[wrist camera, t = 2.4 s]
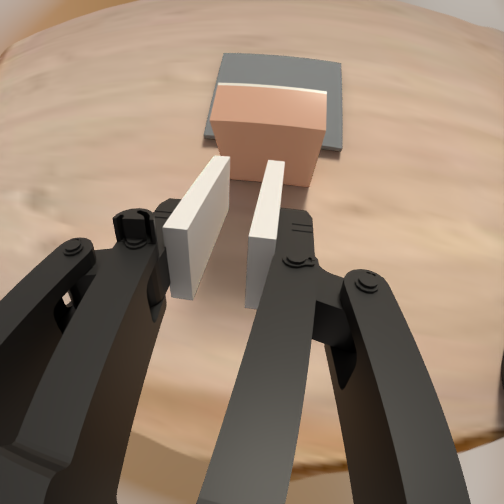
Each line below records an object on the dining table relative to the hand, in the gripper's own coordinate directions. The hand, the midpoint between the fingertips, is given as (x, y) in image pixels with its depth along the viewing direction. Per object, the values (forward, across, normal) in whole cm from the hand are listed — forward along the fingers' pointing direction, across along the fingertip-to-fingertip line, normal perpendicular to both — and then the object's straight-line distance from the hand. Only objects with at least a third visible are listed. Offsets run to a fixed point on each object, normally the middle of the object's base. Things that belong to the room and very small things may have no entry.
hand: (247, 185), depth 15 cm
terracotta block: (+21, 0, -6) cm, 22 cm away
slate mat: (+28, 0, +1) cm, 28 cm away
